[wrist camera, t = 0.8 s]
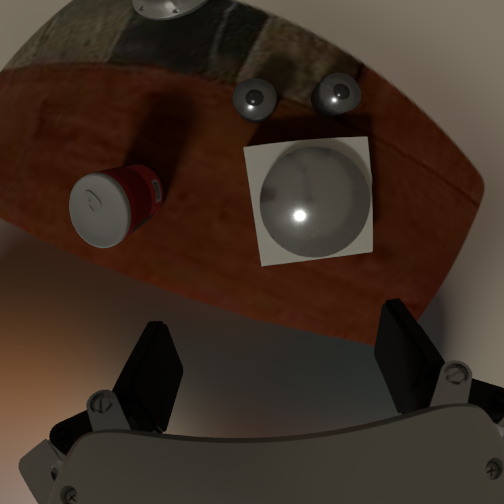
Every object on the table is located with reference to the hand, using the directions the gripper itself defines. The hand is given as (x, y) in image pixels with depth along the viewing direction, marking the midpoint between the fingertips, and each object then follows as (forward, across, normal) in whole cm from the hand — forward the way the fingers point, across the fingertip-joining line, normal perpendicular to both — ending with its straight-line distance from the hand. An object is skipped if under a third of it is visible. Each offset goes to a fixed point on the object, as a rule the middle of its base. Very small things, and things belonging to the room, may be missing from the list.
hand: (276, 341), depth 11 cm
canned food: (+25, +17, -4) cm, 30 cm away
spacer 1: (+25, 0, -13) cm, 28 cm away
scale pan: (+20, -5, -1) cm, 21 cm away
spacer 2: (+25, -9, -13) cm, 30 cm away
